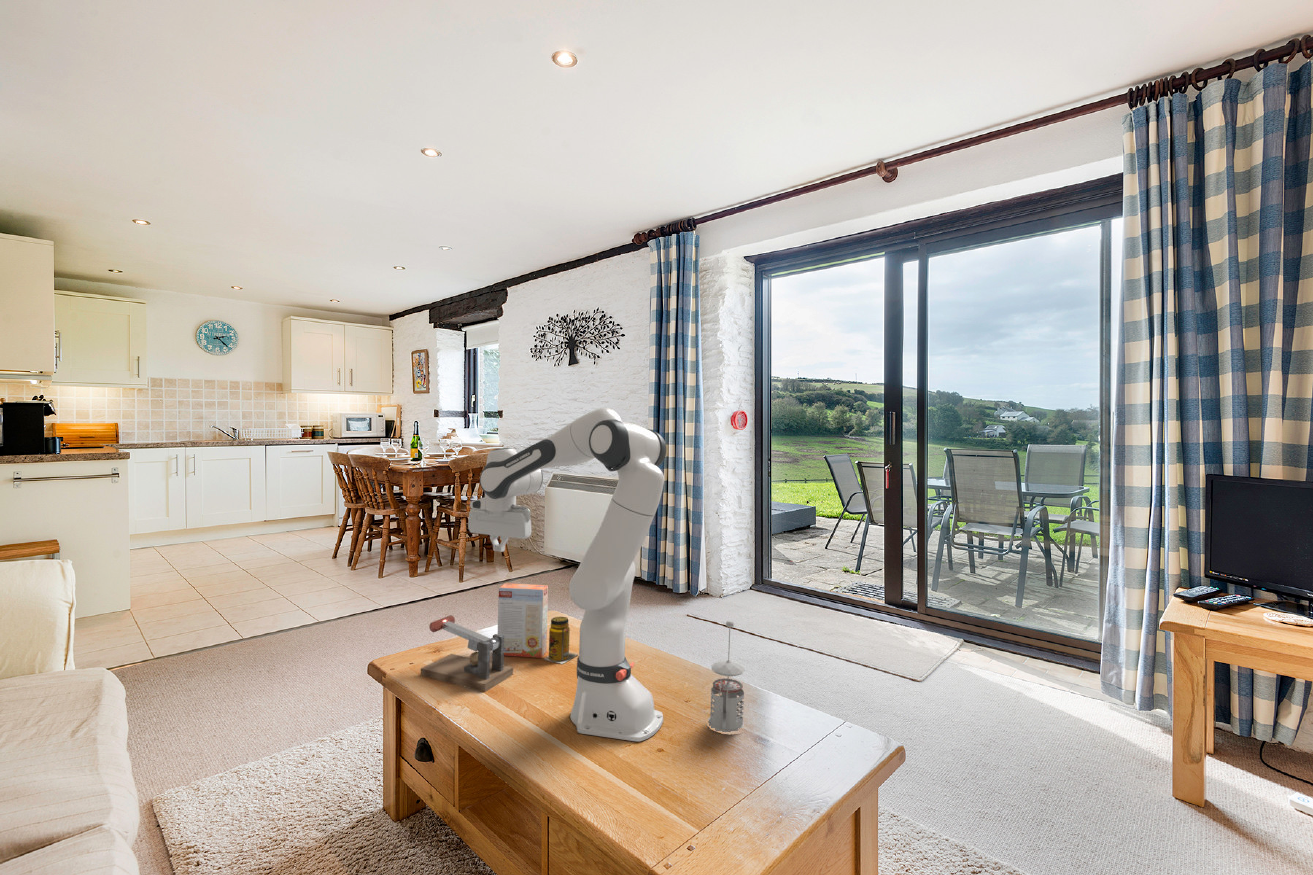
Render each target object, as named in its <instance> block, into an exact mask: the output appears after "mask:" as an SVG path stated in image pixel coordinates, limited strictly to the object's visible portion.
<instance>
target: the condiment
mask: <svg viewBox="0 0 1313 875" xmlns="http://www.w3.org/2000/svg"><path fill="white" fill-rule="evenodd" d="M569 624H570V623H569V618H568V617H565V616H555V617H552V618H551V619H550V627H549V630H548V631H549V636H548V643H549V644H548V656H546V657H545V658H543V660H544V661H547V662H548V661H549V662H551V663H557V664H560V665H563V664H565V663H567V662H569V661H570V660H572V659H573V658H576V657H577V656H579V653H573V652H570V631H571V629H570V627H569Z"/></svg>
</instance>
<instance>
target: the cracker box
mask: <svg viewBox="0 0 1313 875" xmlns="http://www.w3.org/2000/svg"><path fill="white" fill-rule="evenodd" d="M548 595H549V586H548V584H547V585H546V584H530V583H529V584H528V583H512V582H511V583H507V582H506V583H503V584H502V585H501V586H499V587H498V600H497V601H498V603H497V605H498V606H497V607H498V608H497V634H498V635H503V636H504V657H507V656H508V657H522V658H536V659H537V658H538V659H541V658H542V657H544V655H545V654H546V653H547V651H548V650H547V649H548V648H547V647H548V607H549V606H548V605H549V604H548V602H549V596H548ZM542 659H543V658H542Z"/></svg>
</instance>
